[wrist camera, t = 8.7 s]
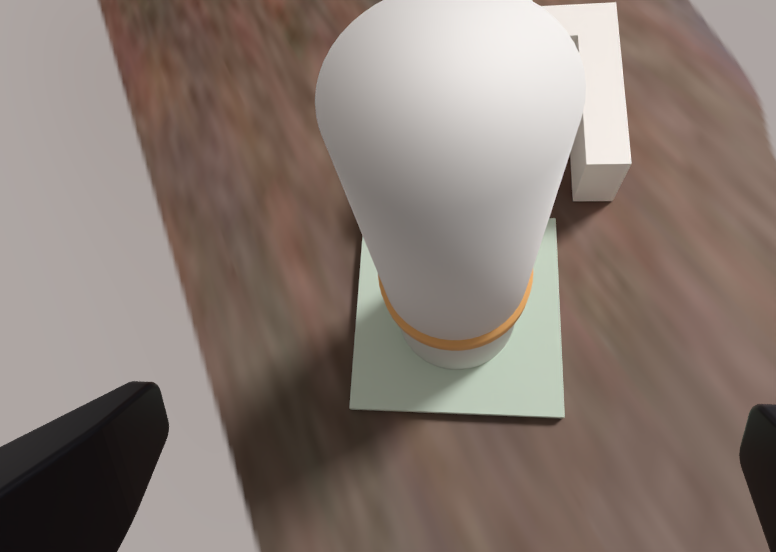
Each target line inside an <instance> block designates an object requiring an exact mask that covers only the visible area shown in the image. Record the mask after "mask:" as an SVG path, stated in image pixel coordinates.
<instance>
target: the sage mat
mask: <svg viewBox="0 0 776 552" xmlns="http://www.w3.org/2000/svg"><path fill="white" fill-rule="evenodd" d="M349 408H350V409H352V410H376V411H399V412H423V413H447V414H470V415H494V416H518V417H541V418H564V417H565V414H564V392H563V370H562V348H561V325H560V303H559V281H558V259H557V236H556V218H549V220H548V223H547V226H546V229H545V232H544V235H543V239H542V242H541V245H540V248H539V251H538V254H537V257H536V260H535V263H534V266H533V283H532V288H531V292H530V295H529V298H528V300H527V303H526V306H525V308H524V310H523V312H522V314H521V316H520V317H519V319H518V320H517V321H516V323H515V325H514V328H513V331H512V334H511V336H510V338H509V340H508V342H507V344H506V345H505V346H504V348H503V349H502V350H501V351H500V352H499V353H498V354H497V355H496V356H495V357H493V358H492V359H491V360H489V361H488V362H486V363H484V364H482V365H479V366H477V367H473V368H469V369H462V370H452V369H445V368H441V367H438V366H435V365H433V364H430V363H429V362H427V361H425V360H423V359H422V358H421V357H419V356H418V355H417V354H416V353H415V352H414V351H413V350H412V349H411V347H410V346H409V345H408V343H407V342H406V340H405V338H404V336H403V334H402V331H401V329H400V327H399V326H398V324H397V323H396V322H395V321H394V319H393V318H392V316H391V314H390V313H389V311H388V309H387V307H386V304H385V302H384V300H383V297H382V295H381V291H380V287H379V280H378V272H377V270H376V267H375V265H374V262H373V260H372V258H371V255H370V253H369V250H368V248H367V245H366V243H365V240H364V238H363V237H362V250H361V263H360V276H359V289H358V302H357V315H356V328H355V341H354V354H353V367H352V380H351V393H350V406H349Z"/></svg>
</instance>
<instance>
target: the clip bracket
mask: <svg viewBox="0 0 776 552" xmlns="http://www.w3.org/2000/svg"><path fill="white" fill-rule="evenodd" d="M541 7H542V8H544V9H545V10H546V11H547V12H549V13H550V14H551V15H552V16H553V17H554V18H556V19H557V21H558V22H559V23H560V24H561V25H562V26H563V27H564V29H565V30H566V31H567V32H568V34H569V36H570V37H571V39H572V40H573V42H574V43H575V45H576V48H577V50H578V52H579V54H580V56H581V60H582V64H583V67H584V71H585V80H586V97H585V105H584V109H583V114H582V118H581V121H580V124H579V127H578V130H577V133H576V136H575V139H574V143H573V146H572V149H571V152H570V161H571V179H572V197H573V201H613V199H614V197H615V195H616V193H617V191H618V189H619V187H620V185H621V183H622V181H623V179H624V177H625V175H626V174H627V172H628V170H629V168H630V166H631V164H632V163H631V153H630V143H629V132H628V122H627V112H626V101H625V91H624V81H623V70H622V60H621V49H620V39H619V29H618V18H617V8H616V2H614V3H595V4H576V5H557V6H541Z"/></svg>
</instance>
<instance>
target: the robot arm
mask: <svg viewBox="0 0 776 552" xmlns="http://www.w3.org/2000/svg"><path fill="white" fill-rule="evenodd" d="M168 432H169V422H168V418H167V414H166V410H165V406H164V403H163V399H162V395H161V391H160V388H159V387H158V385H157V384H155V383H154V382H138V381H133V382H129V383H127V384H125V385H123V386H121V387H119V388H117V389H115V390H113V391H111V392H109V393H107V394H105V395H103V396H101V397H99V398H97V399H95V400H93V401H91V402H89V403H87V404H85V405H83V406H81V407H79V408H77V409H75V410H73V411H71V412H69V413H67V414H65V415H63V416H61V417H59V418H57V419H55V420H53V421H51V422H49V423H47V424H45V425H43V426H41V427H39V428H37V429H35V430H33V431H31V432H29V433H27V434H25V435H23V436H21V437H19V438H17V439H15V440H13V441H11V442H9V443H8V444H6V445H3V446H1V447H0V552H117V551H118V549H119V547H120V545H121V543H122V541H123V539H124V537H125V536H126V534H127V532H128V530H129V528H130V525H131V524H132V521H133V519H134V517H135V515H136V512H137V510H138V508H139V506H140V503H141V501H142V498H143V496H144V493H145V491H146V489H147V486H148V483H149V481H150V479H151V476H152V474H153V471H154V469H155V466H156V464H157V461H158V459H159V457H160V454H161V452H162V449H163V447H164V444H165V442H166V439H167V436H168ZM739 456H740V464H741V468H742V471H743V473H744V476H745V479H746V482H747V485H748V488H749V491H750V494H751V497H752V500H753V503H754V506H755V508H756V511H757V514H758V517H759V520H760V523H761V526H762V529H763V532H764V535H765V538H766V540H767V543H768V546H769V549H770V552H776V405H772V404H757V405H755V406H753V407H752V409H751V410H750V413H749V416H748V420H747V423H746V427H745V431H744V435H743V439H742V442H741V446H740V453H739Z"/></svg>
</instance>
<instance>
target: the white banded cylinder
mask: <svg viewBox="0 0 776 552" xmlns="http://www.w3.org/2000/svg"><path fill="white" fill-rule="evenodd" d="M585 97H586V80H585V71H584V67H583V64H582V60H581V56H580V54H579V52H578V50H577V48H576V45H575V43H574V42H573V40H572V39H571V37H570V36H569V34H568V32H567V31H566V30H565V29H564V27H563V26H562V25H561V24H560V23H559V22H558V21H557V19H556V18H554V17H553V16H552V15H551V14H550V13H549V12H547V11H546V10H545V9H544V8H542V7H541V6H539V5H538V4H536V3H535V2H533V1H532V0H383V1H381V2H379V3H377V4H376V5H374V6H373V7H371V8H370V9H368V10H367V11H365V12H364V13H362V14H361V15H360V16H359V17H358V18H356V19H355V20H354V21H353V22H352V23H351V24H350V25H349V26H348V27H347V28H346V29H345V30H344V31H343V32H342V33H341V34H340V36H339V37H338V38H337V40H336V41H335V43H334V44H333V45H332V47H331V49H330V50H329V52H328V54H327V56H326V58H325V60H324V62H323V65H322V67H321V70H320V73H319V77H318V81H317V85H316V95H315V107H316V117H317V121H318V126H319V130H320V132H321V135H322V137H323V140H324V142H325V145H326V147H327V149H328V152H329V154H330V157H331V159H332V162H333V164H334V167H335V169H336V172H337V174H338V176H339V179H340V181H341V184H342V186H343V189H344V191H345V194H346V196H347V199H348V201H349V203H350V206H351V208H352V211H353V213H354V216H355V218H356V221H357V223H358V226H359V228H360V230H361V233H362V235H363V238H364V240H365V243H366V245H367V248H368V250H369V253H370V255H371V258H372V260H373V262H374V265H375V267H376V270H377V272H378V280H379V287H380V291H381V295H382V297H383V300H384V302H385V304H386V307H387V309H388V311H389V313H390V314H391V316H392V318H393V319H394V321H395V322H396V323H397V324H398V326H399V327H400V329H401V331H402V334H403V336H404V338H405V340H406V342H407V343H408V345H409V346H410V347H411V349H412V350H413V351H414V352H415V353H416V354H417V355H418V356H419V357H421V358H422V359H423V360H425V361H427V362H429V363H430V364H433V365H435V366H438V367H441V368H445V369H452V370H462V369H469V368H473V367H477V366H479V365H482V364H484V363H486V362H488V361H489V360H491V359H492V358H493V357H495V356H496V355H497V354H498V353H499V352H500V351H501V350H502V349H503V348H504V346H505V345H506V344H507V342H508V340H509V338H510V336H511V334H512V331H513V328H514V325H515V323H516V321H517V320H518V319H519V317H520V316H521V314H522V312H523V310H524V308H525V306H526V303H527V300H528V298H529V295H530V292H531V288H532V283H533V266H534V263H535V260H536V257H537V254H538V251H539V248H540V245H541V242H542V239H543V235H544V232H545V229H546V226H547V223H548V220H549V217H550V214H551V211H552V208H553V205H554V201H555V198H556V195H557V192H558V189H559V186H560V183H561V180H562V177H563V174H564V170H565V167H566V164H567V161H568V158H569V155H570V152H571V149H572V146H573V143H574V139H575V136H576V133H577V130H578V127H579V124H580V121H581V118H582V114H583V109H584V105H585Z"/></svg>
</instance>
